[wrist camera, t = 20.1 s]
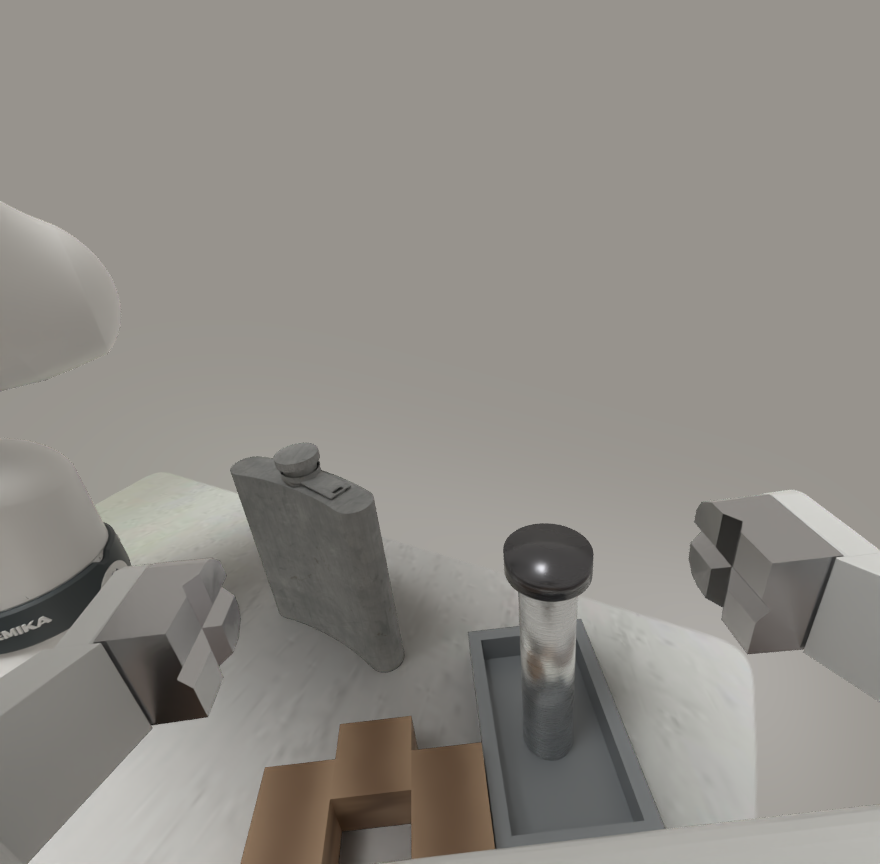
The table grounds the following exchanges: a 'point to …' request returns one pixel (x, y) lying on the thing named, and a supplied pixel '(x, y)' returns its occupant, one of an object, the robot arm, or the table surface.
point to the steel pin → (548, 628)
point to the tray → (563, 780)
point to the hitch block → (372, 797)
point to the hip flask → (322, 551)
